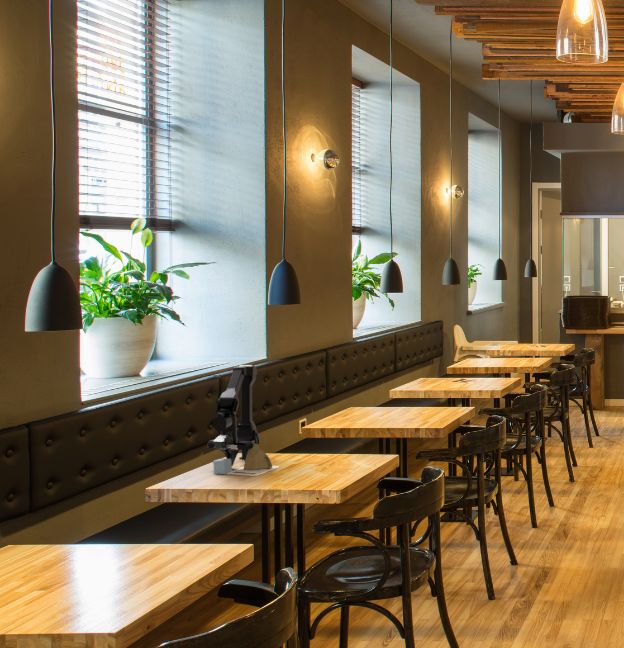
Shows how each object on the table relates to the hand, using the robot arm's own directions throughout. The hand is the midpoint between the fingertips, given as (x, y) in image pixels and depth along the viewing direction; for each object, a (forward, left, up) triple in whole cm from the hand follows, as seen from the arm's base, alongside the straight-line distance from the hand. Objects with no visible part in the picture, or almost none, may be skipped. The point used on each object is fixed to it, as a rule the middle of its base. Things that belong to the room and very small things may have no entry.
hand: (231, 466), depth 322 cm
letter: (0, +11, -1) cm, 11 cm away
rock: (-2, +12, -1) cm, 12 cm away
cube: (+8, +2, -1) cm, 8 cm away
